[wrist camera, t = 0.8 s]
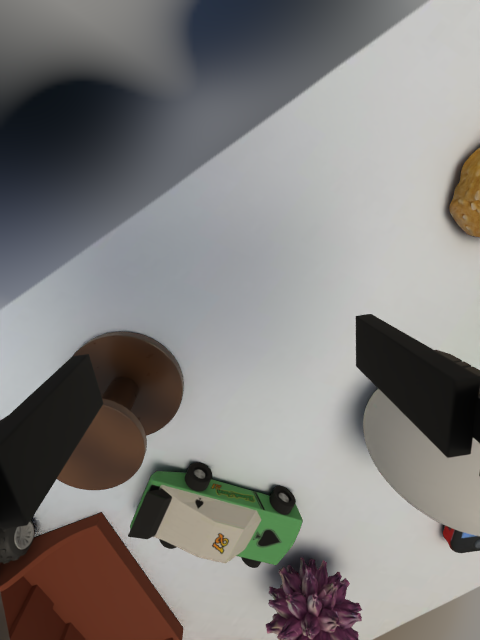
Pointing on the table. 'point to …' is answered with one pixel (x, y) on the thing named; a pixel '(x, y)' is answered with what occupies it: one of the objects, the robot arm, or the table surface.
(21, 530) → the toy vehicle
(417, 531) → the table surface
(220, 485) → the toy car
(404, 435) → the decorative egg
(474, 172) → the bagel
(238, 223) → the table surface
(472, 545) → the game console
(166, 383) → the pedestal
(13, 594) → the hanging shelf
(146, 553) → the table surface
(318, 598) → the flower
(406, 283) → the table surface
